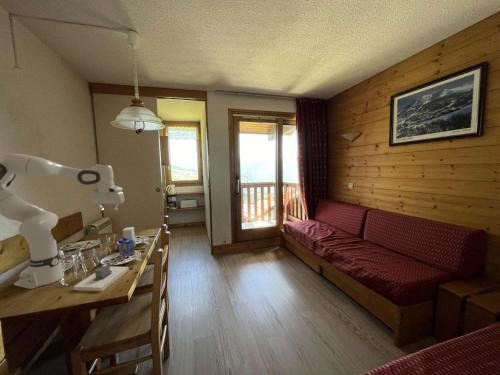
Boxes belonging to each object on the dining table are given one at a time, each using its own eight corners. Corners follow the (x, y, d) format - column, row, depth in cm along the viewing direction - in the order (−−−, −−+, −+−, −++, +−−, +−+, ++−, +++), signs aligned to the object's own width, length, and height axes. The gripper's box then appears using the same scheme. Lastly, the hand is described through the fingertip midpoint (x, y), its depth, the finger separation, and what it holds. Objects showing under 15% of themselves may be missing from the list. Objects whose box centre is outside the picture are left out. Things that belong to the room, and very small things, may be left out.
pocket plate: (73, 290, 113) (73, 286, 113) (105, 269, 135) (104, 266, 135) (101, 291, 112) (101, 287, 112) (128, 270, 134) (128, 266, 133)
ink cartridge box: (119, 256, 154) (117, 236, 152) (126, 253, 159) (124, 234, 157) (128, 258, 150) (126, 238, 148) (135, 255, 155) (133, 236, 153)
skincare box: (132, 248, 167) (131, 229, 165) (123, 249, 165) (121, 230, 163) (136, 244, 175) (134, 226, 173) (127, 245, 173) (125, 227, 172)
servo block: (93, 284, 119) (91, 271, 118) (106, 274, 128) (105, 262, 128) (100, 284, 118) (98, 271, 117) (113, 274, 128) (111, 262, 127)
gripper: (87, 189, 133) (89, 211, 135) (117, 189, 131) (120, 211, 133) (95, 188, 139) (97, 209, 141) (124, 188, 137) (126, 209, 139)
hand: (108, 210), depth 137 cm, fingers open, 8 cm apart
